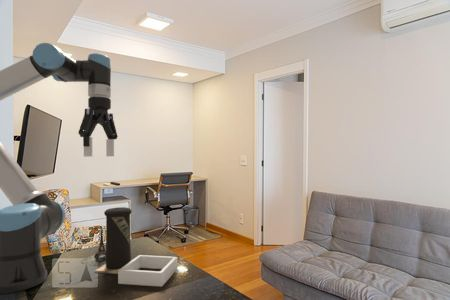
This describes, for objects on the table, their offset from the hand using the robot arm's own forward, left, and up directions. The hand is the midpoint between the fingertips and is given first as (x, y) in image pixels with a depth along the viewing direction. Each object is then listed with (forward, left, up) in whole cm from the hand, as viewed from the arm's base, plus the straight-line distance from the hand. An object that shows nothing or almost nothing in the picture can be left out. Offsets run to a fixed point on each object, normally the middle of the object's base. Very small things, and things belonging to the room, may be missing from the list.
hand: (99, 156), depth 107 cm
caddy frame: (+22, -7, -39) cm, 45 cm away
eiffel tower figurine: (-4, +7, -40) cm, 40 cm away
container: (+8, -2, -38) cm, 39 cm away
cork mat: (+8, -2, -39) cm, 40 cm away
